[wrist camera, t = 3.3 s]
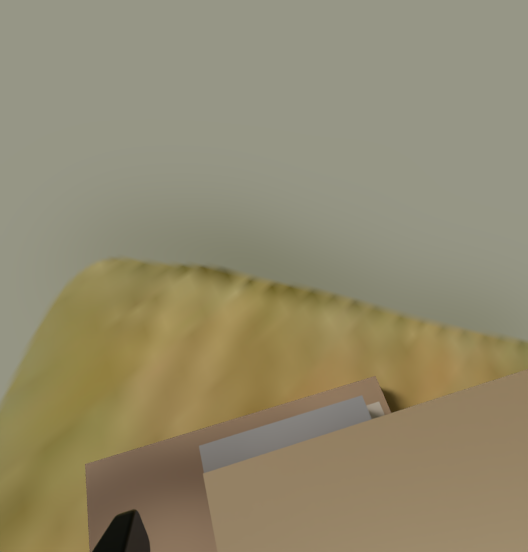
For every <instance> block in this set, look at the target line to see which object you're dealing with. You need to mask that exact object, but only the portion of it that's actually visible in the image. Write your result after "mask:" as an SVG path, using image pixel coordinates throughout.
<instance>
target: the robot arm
mask: <svg viewBox="0 0 528 552" xmlns="http://www.w3.org/2000/svg"><path fill="white" fill-rule="evenodd" d="M92 552H150V541H149V537H148V534H147V532H146V529H145V527H144V524H143V522H142V519H141V517H140V514H139V512H138V511H137V510H136V509H132V510H129V511H126V512H123V513H120V514H118V515H116V516H115V517H114V518H113V520H112V521H111V523H110V524H109V526H108V528H107V529H106V531H105V532H104V534H103V535H102V537H101V538H100V540H99V541H98V543H97V544H96V546H95V548H94V549H93V551H92Z"/></svg>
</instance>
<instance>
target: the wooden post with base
mask: <svg viewBox="0 0 528 552" xmlns="http://www.w3.org/2000/svg"><path fill="white" fill-rule="evenodd" d="M199 449H200V454H201V460H202V465H203V470H204V473H203V477H204V482H205V488H206V493H207V498H208V504H209V509H210V515H211V520H212V525H213V531H214V536H215V541H216V547H217V552H528V369H527V370H524V371H521V372H518V373H514V374H511V375H508V376H505V377H502V378H499V379H496V380H493V381H490V382H486V383H483V384H480V385H477V386H474V387H471V388H468V389H465V390H462V391H458V392H455V393H452V394H449V395H446V396H443V397H440V398H437V399H434V400H430V401H427V402H424V403H421V404H418V405H415V406H412V407H409V408H406V409H402V410H399V411H396V412H393V413H390V414H387V415H384V416H381V417H378V418H374V419H371V416H370V414H369V411H368V409H367V406H366V404H365V401H364V399H363V396H362V395H361V396H358V397H355V398H351V399H348V400H345V401H342V402H339V403H335V404H332V405H329V406H326V407H322V408H319V409H316V410H313V411H310V412H306V413H303V414H300V415H297V416H293V417H290V418H287V419H284V420H281V421H277V422H274V423H271V424H268V425H264V426H261V427H258V428H255V429H252V430H248V431H245V432H242V433H239V434H235V435H232V436H229V437H226V438H223V439H219V440H216V441H213V442H210V443H206V444H203V445H200V446H199Z"/></svg>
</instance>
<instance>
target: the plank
mask: <svg viewBox="0 0 528 552" xmlns="http://www.w3.org/2000/svg"><path fill="white" fill-rule="evenodd" d="M361 395H362V396H363V399H364V401H365V404H366V406H367V409H368V411H369V414H370V416H371V419H374V418H378V417H381V416H384V415H387V414H390V413H391V411H390V409H389V406H388V404H387V402H386V399H385V397H384V395H383V393H382V390H381V388H380V386H379V383H378V381H377V379H376V376H374V377H371V378H367V379H364V380H361V381H358V382H354V383H351V384H348V385H344V386H341V387H338V388H335V389H331V390H328V391H325V392H321V393H318V394H315V395H312V396H308V397H305V398H302V399H298V400H295V401H292V402H288V403H285V404H282V405H279V406H275V407H272V408H269V409H265V410H262V411H259V412H256V413H252V414H249V415H246V416H242V417H239V418H236V419H233V420H229V421H226V422H223V423H219V424H216V425H213V426H210V427H206V428H203V429H200V430H196V431H193V432H190V433H187V434H183V435H180V436H177V437H173V438H170V439H167V440H164V441H160V442H157V443H154V444H150V445H147V446H144V447H140V448H137V449H134V450H131V451H127V452H124V453H121V454H117V455H114V456H111V457H108V458H104V459H101V460H98V461H94V462H91V463H88V464H85V469H86V488H87V508H88V527H89V547H90V552H92V551H93V549H94V548H95V546H96V544H97V543H98V541H99V540H100V538H101V537H102V535H103V534H104V532H105V531H106V529H107V528H108V526H109V524H110V523H111V521H112V520H113V518H114V517H115V516H116V515H118V514H120V513H123V512H126V511H129V510H132V509H136V510H137V511H138V512H139V514H140V517H141V519H142V522H143V524H144V527H145V529H146V532H147V534H148V537H149V541H150V552H217V547H216V541H215V536H214V531H213V525H212V520H211V515H210V509H209V504H208V498H207V493H206V488H205V482H204V477H203V473H204V470H203V465H202V460H201V454H200V449H199V446H200V445H203V444H206V443H210V442H213V441H216V440H219V439H223V438H226V437H229V436H232V435H235V434H239V433H242V432H245V431H248V430H252V429H255V428H258V427H261V426H264V425H268V424H271V423H274V422H277V421H281V420H284V419H287V418H290V417H293V416H297V415H300V414H303V413H306V412H310V411H313V410H316V409H319V408H322V407H326V406H329V405H332V404H335V403H339V402H342V401H345V400H348V399H351V398H355V397H358V396H361Z"/></svg>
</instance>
